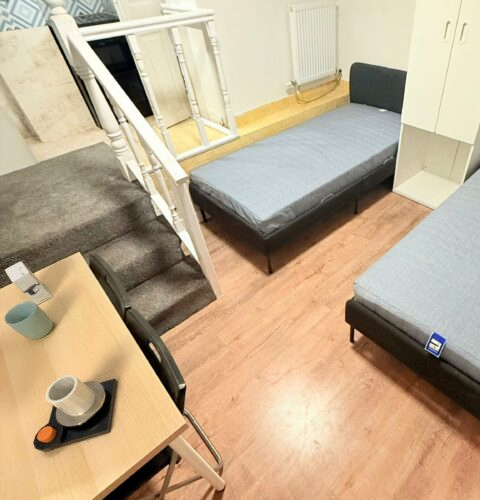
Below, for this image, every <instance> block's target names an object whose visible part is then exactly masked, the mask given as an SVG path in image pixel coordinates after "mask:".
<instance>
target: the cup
mask: <svg viewBox="0 0 480 500" xmlns="http://www.w3.org/2000/svg"><path fill="white" fill-rule="evenodd" d="M3 320H4V322H5V324H7V326H9V327H10V328H11V329H12V330H14V331H15V332H16V333H18V334H19V335H21V336H22V337H24V338H27V339H29V340H39V339H41V338H43V337H45V336H47V335H48V334H49V333H50V332H51V331H52V329H53V321H52V319H51V318H50V316H49V315H48V314H47V313H46V311H44V309H42V307H40V306H39V305H37V304H35V303H34V302H33V301H32V300H31V301H30V300H28V301H27V300H26V301H23V302H20V303H18V304H16V305H14V306H12V307H11V309H9V310H8V311H7V312H6V313H5V315H4V319H3Z"/></svg>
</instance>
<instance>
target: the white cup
mask: <svg viewBox="0 0 480 500" xmlns="http://www.w3.org/2000/svg"><path fill="white" fill-rule="evenodd" d="M45 400H46V401H47V402H48V403H49V404H51V406H53V405H54V406H55V407H57V408H58V409H60V410H61V411H63V412H65V413H66V414H68V415H70V416H78V415H81V414H83V413H84V412H86V411H87V410H88V409H89V408H90V407H91V406H92V404H93V402H94V400H95V393H94V391H93V390H91V389H90V388H89V387H88V386H86V385H85V384H84V381H81V380H80V379H79V378H78V377H76V375H74V374H65V375H62V376H60V377H58V378H56V379H55V380H54V381H53V382H51V384H50V385H49V386H48V387H47V389H46V392H45Z"/></svg>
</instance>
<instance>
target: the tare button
mask: <svg viewBox="0 0 480 500" xmlns="http://www.w3.org/2000/svg"><path fill="white" fill-rule="evenodd" d="M43 427H44V426H43ZM40 429H41V428H40ZM40 429H39V430H40ZM37 433H38V432H37ZM56 433H57V431H56V429H54V428H52V427H50V426H47V427H44V428H43V429H41V430H40V432H39V433H38V435H37V439H38V440H39V441H41V442H43V443H48V442H50V441H51V440H53V439H54V437H55V436H56Z"/></svg>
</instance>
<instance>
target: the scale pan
mask: <svg viewBox="0 0 480 500" xmlns="http://www.w3.org/2000/svg"><path fill="white" fill-rule="evenodd" d="M83 383H84V384H85V385H86V386H88V387H89V388H90V389H91V390H93V391H94V393H95V400H94V402H93V404H92V406H91V407H90V408H89V409H88V410H87V411H86V412H84V413H83V414H81V415H78V416H70V415H68V414H66V413H65V412H63V411H61V410H60V409H58V408H57V410H56V418H57V421H58V422H59V423H60V424H61V425H63V426H66V427H75V426H78V425H81V424H83V423H85V422H87V421H88V420H90V419H91V418H92V417H93V416H94V415H95V414H96V413H97V412H98V411H99V410H100V408H101V406H102V405H103V402H104V400H105V389H104V387H103V386H102V385H101V384H100V382H98V381H95V380H88V381H83Z"/></svg>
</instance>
